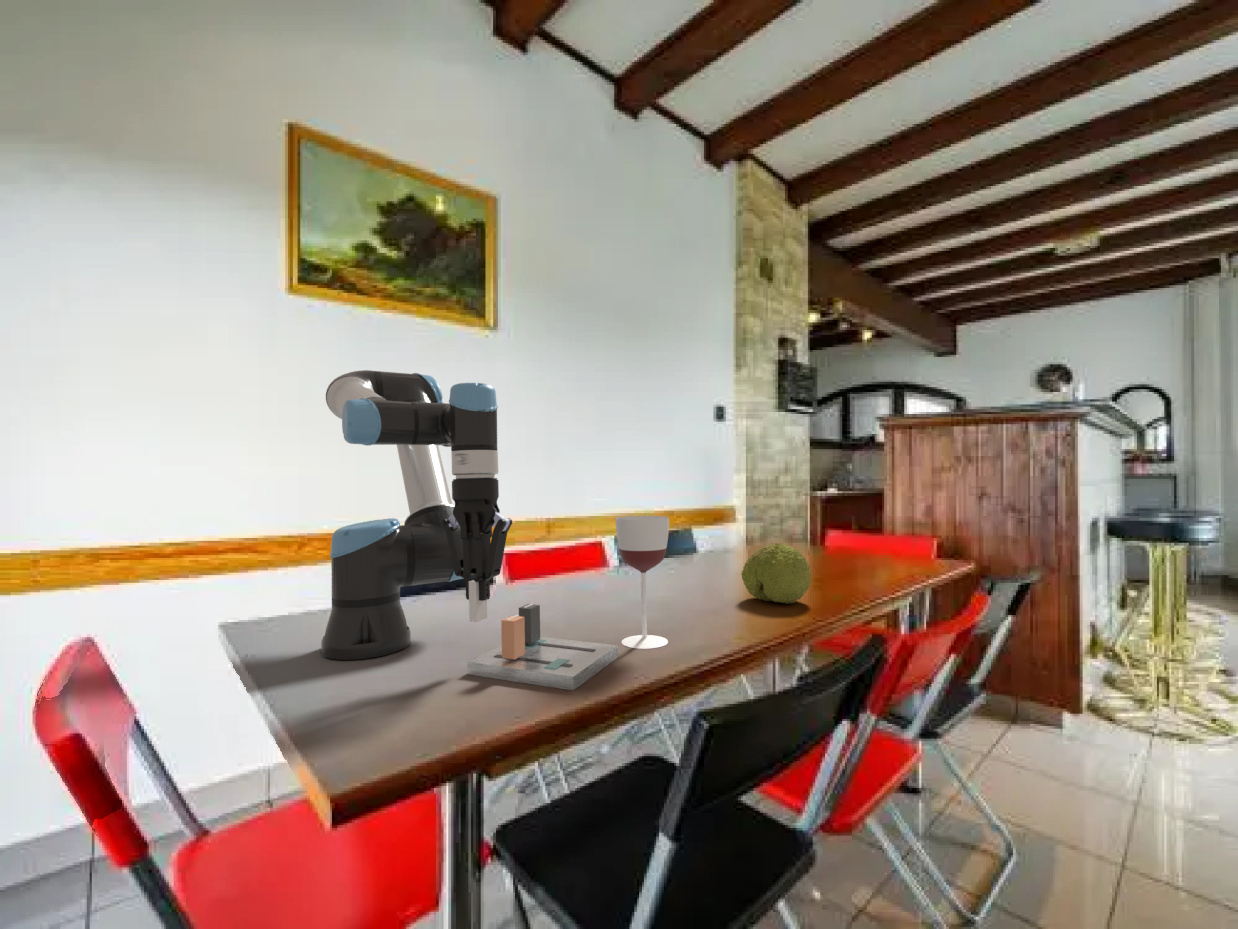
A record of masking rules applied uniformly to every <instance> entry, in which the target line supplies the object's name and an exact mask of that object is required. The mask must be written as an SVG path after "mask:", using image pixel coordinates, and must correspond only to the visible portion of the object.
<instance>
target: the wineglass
mask: <svg viewBox="0 0 1238 929" xmlns="http://www.w3.org/2000/svg"><path fill="white" fill-rule="evenodd" d="M669 529H670V517H669V516H664V515H627V516H626V515H625V516H618V517H615V532H616V539H617V544H618V545H617V546H618V550H619V555H620V556H621V560H622V561H623V562H624V563H625V564H627V565H628V566H630V567H631V568H632V569H635V570H637V571H638V572H640V586H641V587H640V588H641V595H640V596H641V634H637V635H631V636H628V637H624V638H623V639H622V640H621V644H622V645H623V646H625V647H629V648H632V649H640V650H643V649H645V650H646V649H647V650H648V649H657V648H660V647H661V648H662V647H664V646H666V645H667V644H669V641H668V639H667V638H665V637H662V636H660V635H655V634H654V635H653V634H652V635H651V634H648V628H647V627H648V625H647V624H648V620H647V580H646V579H647V576H646V573H647V572H648V571H649V570H651V569H653V568H655V567H656V566H658V565H659V564H660V563H661V562H662V561H663V560H664V558H665V556H666V555H667V554H666V552H667V547H668V541H669V532H670V531H669Z"/></svg>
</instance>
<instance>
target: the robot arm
mask: <svg viewBox="0 0 1238 929" xmlns="http://www.w3.org/2000/svg"><path fill="white" fill-rule="evenodd" d="M496 393H497V392H496V389H495V387H494V386H492V385H491V384H487V383H483V382H460V383H456V384H454V385H452V386H451V387H450V391H449V398H448V399H449V400H448V403H444V402H443V392H442V389H441V386H440V384H439V381H437V379H435V378H434V377H433V376H431V375H427V374H421V373H417V372H414V373H408V372H407V373H406V372H403V373H402V372H393V371H383V370H382V371H381V370H380V371H378V370H370V369H369V370H368V369H366V370H364V369H363V370H355V371H350V372H347V373H344V374H341V375H339V376H337V377H336V378H334V379H333V380H332V381H331V382H330V384H328V387H327V388H326V392H325V403H326V405H327V407H328V409H329V410H330V411H331V413H332V414H333V415H334V416H336V417H337V418H338V419H340V420H341V426H342V428H341V429H342V430H341V431H342V433H343V434H342V435H343V439H344V441H346V443H348V444H351V445H363V446H372V445H374V446H376V445H380V446H381V445H383V446H384V445H385V446H386V445H387V446H388V445H396V448H397V454H398V459H399V463H400V469H401V473H402V474H401V475H402V479H403V484H404V490H405V494H406V499H407V505H408V511H409V514H408V516H407V517H406V518H405V520H404V525H403V524H402V525H401V523H400V521H399V519H397V518H393V517H392V518H383V519H374V520H367V521H363V522H356V523H352V524H349V525H345V526H342V527H339V528H338V529H336V530H335V531H334V532H333V534H332V536H331V540H330V541H331V543H330V552H329V557H330V559H331V560H330V563H331V612H330V614H329V617H328V620H327V625H326V628H325V632H324V636H323V637H322V638H321V650H320V651H321V655H322V657H324V658H327V659H331V660H339V661H353V660H354V661H355V660H365V659H371V658H378V657H382V656H387V655H390V654H393V653H397V652H399V651H401V650H404V649H406V648H407V647H409V646H410V645H411V642H412V640H411V639H412V638H411V629H410V627H409V625H408V624H407V619H406V616H405V613H404V610H403V606H402V604H401V588H403V587H409V586H411V587H412V586H418V585H425V584H427V585H428V584H435V583H444V582H449V583H450V582H452V581H456V580H462V579H463V580H464V581H465V598H466V600H467V601H468V606H469V607H468V608H469V609H468V610H469V611H468V612H469V614H468V616H469V622H472V623H473V622H474V623H478V622H481V621H483V620H486V619H488V602H487V600H490V597H491V584H490V583H491V579H492V578H494V577H497V576H499V575H500V574H501V572H502V570H501V569H502V565H503V558H504V553H505V549H506V541H507V537H508V536H507V535H508V532H509V530H510V528H511V526H512V524H513V520H512V518H510V517H507V518H506V517H505V516H503V515H502V514H501V513H500V508H499V506H498V499H499V497H500V496H499V495H500V493H499V492H500V491H499V479H498V478H497V477H495V476H496V475H498V474H499V452H498V408H499V407H498V404H497V394H496ZM439 446H442V447H445V448H449V447H450V450H451V475H453V476H455V478H453V479H452V481H451V493H450V491H449V490H450V489H449V486H448V485H449V484H448V481H447V477H446V473H445V469H444V466H443V465H444V464H443V461H442V457H441V456H442V455H441V452H440V448H439ZM452 500H453V501H454V505H453V501H452Z"/></svg>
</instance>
